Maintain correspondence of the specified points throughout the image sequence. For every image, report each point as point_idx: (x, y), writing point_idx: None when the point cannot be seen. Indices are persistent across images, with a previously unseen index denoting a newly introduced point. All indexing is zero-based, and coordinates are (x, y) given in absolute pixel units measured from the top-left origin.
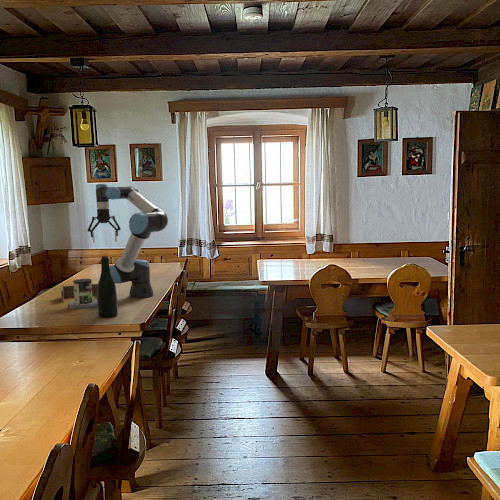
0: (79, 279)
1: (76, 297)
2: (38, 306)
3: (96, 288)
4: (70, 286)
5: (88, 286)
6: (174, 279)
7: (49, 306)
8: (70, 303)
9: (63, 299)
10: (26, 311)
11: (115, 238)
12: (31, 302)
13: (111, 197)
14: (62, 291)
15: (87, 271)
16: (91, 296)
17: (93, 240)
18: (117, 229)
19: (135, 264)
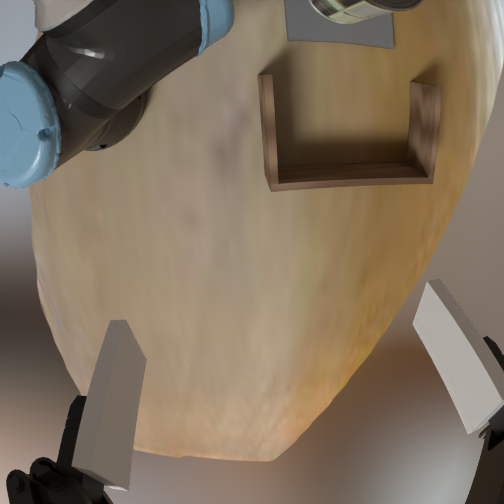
0: (403, 4)
1: None
2: (469, 65)
3: (296, 174)
4: (405, 176)
5: None
6: (52, 330)
7: (445, 44)
8: (389, 21)
9: (415, 84)
10: (486, 24)
11: (113, 357)
12: (482, 134)
13: None
14: (436, 86)
15: (297, 431)
16: None
17: (451, 300)
18: (47, 490)
19: (29, 58)
